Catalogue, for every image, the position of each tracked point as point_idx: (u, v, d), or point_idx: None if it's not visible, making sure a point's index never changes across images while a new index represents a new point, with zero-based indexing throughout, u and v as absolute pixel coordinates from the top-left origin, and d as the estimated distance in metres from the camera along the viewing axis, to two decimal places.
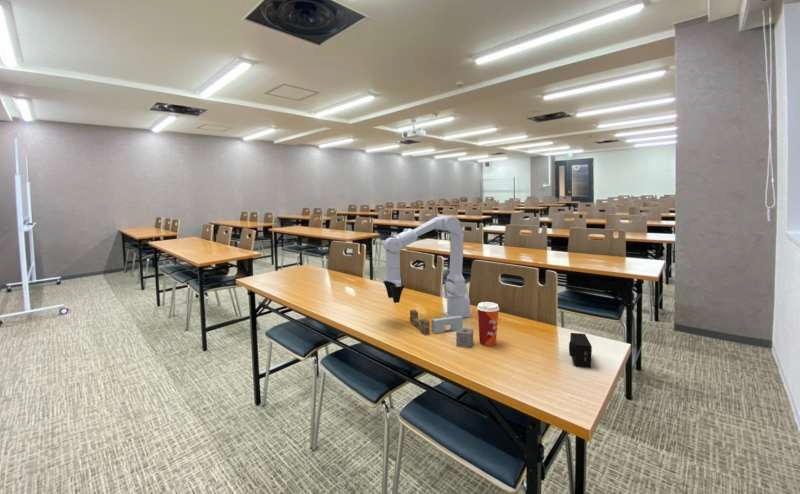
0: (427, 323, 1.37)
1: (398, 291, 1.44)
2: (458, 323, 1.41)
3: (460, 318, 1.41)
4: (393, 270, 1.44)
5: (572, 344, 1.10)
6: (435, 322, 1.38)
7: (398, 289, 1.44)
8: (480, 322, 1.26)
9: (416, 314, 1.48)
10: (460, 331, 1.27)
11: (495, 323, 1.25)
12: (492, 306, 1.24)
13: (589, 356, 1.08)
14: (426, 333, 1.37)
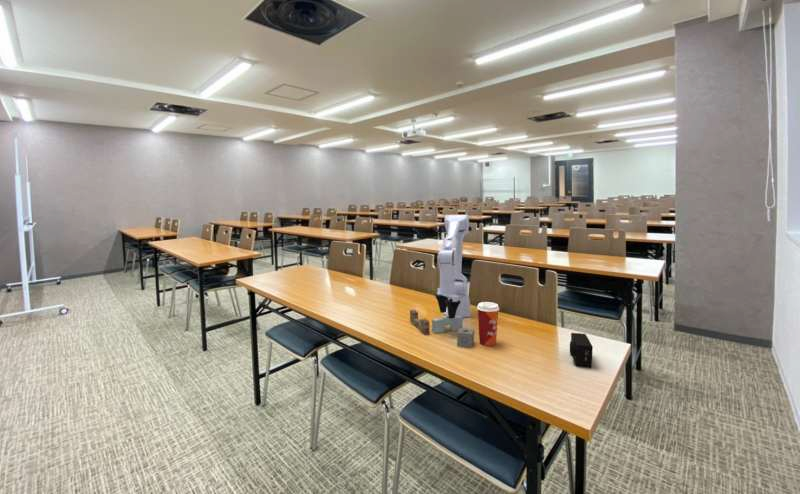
0: (427, 323, 1.37)
1: (454, 306, 1.36)
2: (458, 323, 1.41)
3: (460, 318, 1.41)
4: (448, 284, 1.36)
5: (573, 344, 1.10)
6: (435, 322, 1.38)
7: (454, 304, 1.36)
8: (480, 322, 1.26)
9: (416, 314, 1.48)
10: (461, 331, 1.26)
11: (495, 323, 1.25)
12: (492, 306, 1.24)
13: (590, 356, 1.08)
14: (426, 333, 1.37)
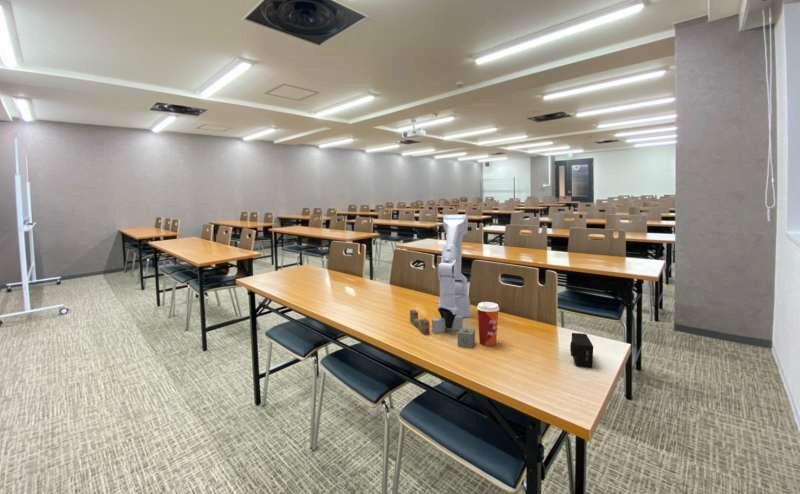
0: (427, 323, 1.37)
1: (451, 316, 1.39)
2: (458, 323, 1.41)
3: (460, 318, 1.41)
4: (449, 296, 1.36)
5: (573, 344, 1.10)
6: (435, 322, 1.38)
7: (451, 314, 1.39)
8: (480, 322, 1.26)
9: (416, 314, 1.48)
10: (461, 331, 1.26)
11: (495, 323, 1.25)
12: (492, 306, 1.24)
13: (590, 356, 1.08)
14: (426, 333, 1.37)
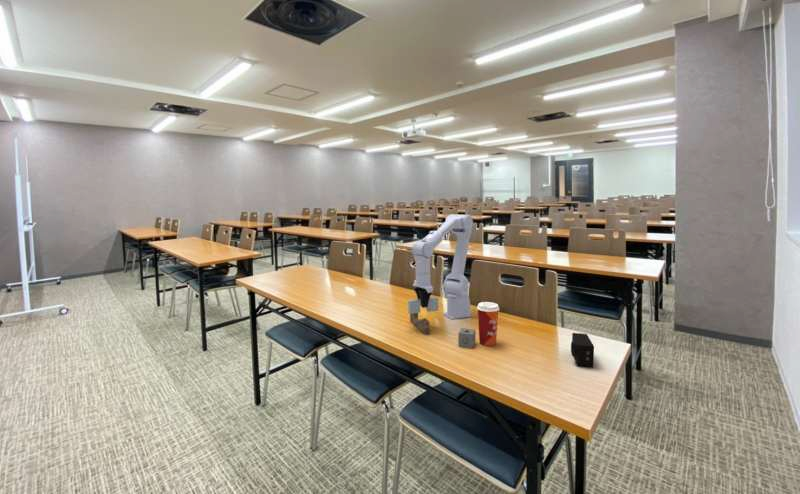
0: (427, 323, 1.37)
1: (426, 296, 1.41)
2: (434, 304, 1.44)
3: (436, 299, 1.44)
4: (424, 275, 1.39)
5: (574, 344, 1.10)
6: (411, 302, 1.40)
7: (426, 293, 1.41)
8: (480, 322, 1.26)
9: (416, 314, 1.48)
10: (462, 332, 1.26)
11: (495, 323, 1.25)
12: (492, 306, 1.24)
13: (591, 356, 1.08)
14: (426, 333, 1.37)
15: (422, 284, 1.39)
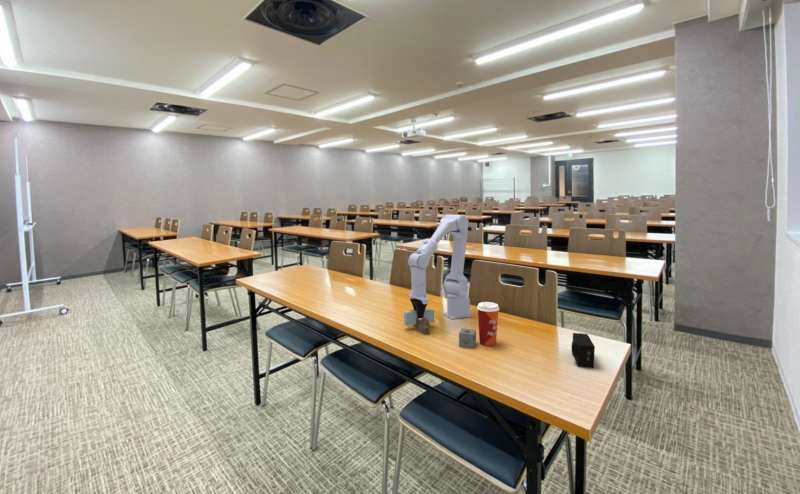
0: (427, 323, 1.37)
1: (422, 306, 1.42)
2: (430, 315, 1.45)
3: (431, 311, 1.45)
4: (419, 287, 1.40)
5: (575, 344, 1.10)
6: (406, 314, 1.42)
7: (422, 304, 1.42)
8: (480, 322, 1.26)
9: None
10: (463, 332, 1.26)
11: (495, 323, 1.25)
12: (492, 306, 1.24)
13: (592, 356, 1.08)
14: (426, 333, 1.37)
15: (418, 295, 1.40)
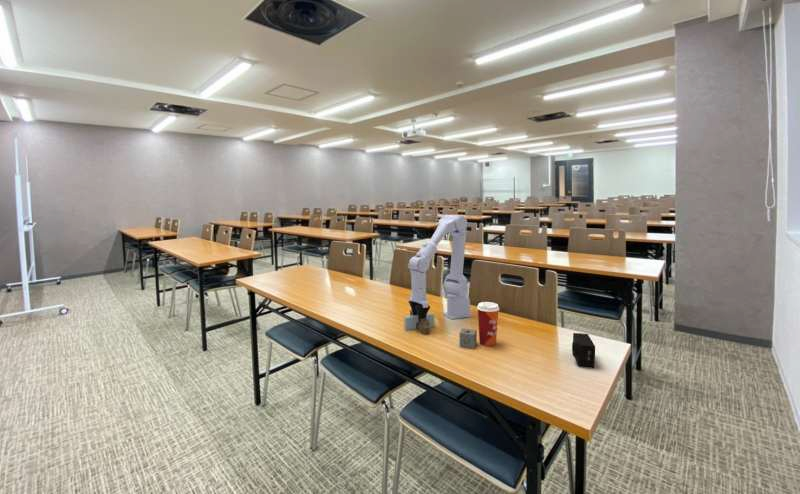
0: (427, 323, 1.37)
1: (424, 311, 1.41)
2: (430, 320, 1.45)
3: (431, 315, 1.45)
4: (419, 290, 1.40)
5: (575, 344, 1.10)
6: (406, 319, 1.42)
7: (424, 309, 1.41)
8: (480, 322, 1.26)
9: None
10: (463, 332, 1.26)
11: (495, 323, 1.25)
12: (492, 306, 1.24)
13: (592, 356, 1.08)
14: (426, 333, 1.37)
15: (418, 299, 1.41)
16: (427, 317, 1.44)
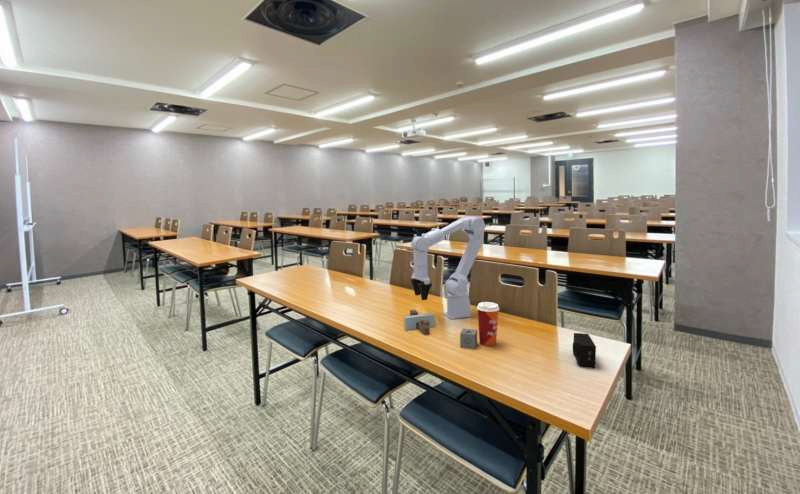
0: (427, 323, 1.37)
1: (426, 289, 1.48)
2: (430, 320, 1.45)
3: (431, 315, 1.45)
4: (421, 268, 1.48)
5: (576, 344, 1.10)
6: (406, 319, 1.42)
7: (426, 287, 1.48)
8: (480, 322, 1.26)
9: (416, 314, 1.48)
10: (464, 332, 1.26)
11: (495, 323, 1.25)
12: (492, 306, 1.24)
13: (593, 356, 1.08)
14: (426, 333, 1.37)
15: (420, 276, 1.48)
16: (427, 317, 1.44)
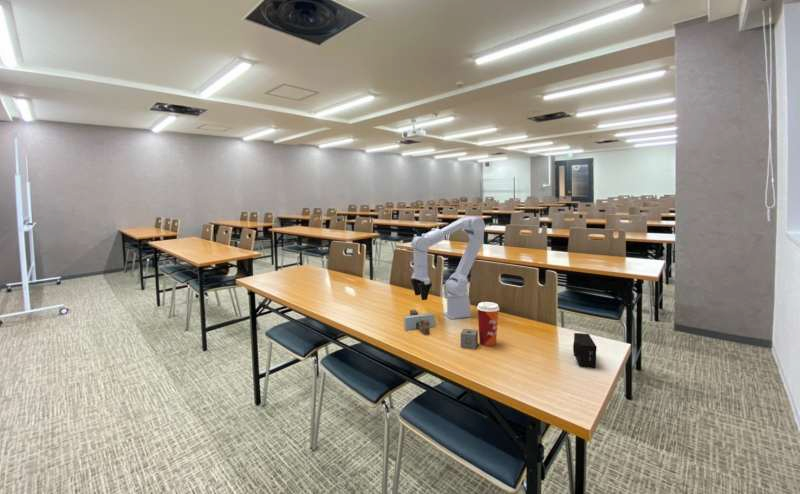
0: (427, 323, 1.37)
1: (426, 289, 1.48)
2: (430, 320, 1.45)
3: (431, 315, 1.45)
4: (421, 268, 1.48)
5: (577, 344, 1.10)
6: (406, 319, 1.42)
7: (426, 287, 1.48)
8: (480, 322, 1.26)
9: (416, 314, 1.48)
10: (464, 332, 1.25)
11: (495, 323, 1.25)
12: (492, 306, 1.24)
13: (594, 356, 1.08)
14: (426, 333, 1.37)
15: (420, 276, 1.48)
16: (427, 317, 1.44)
